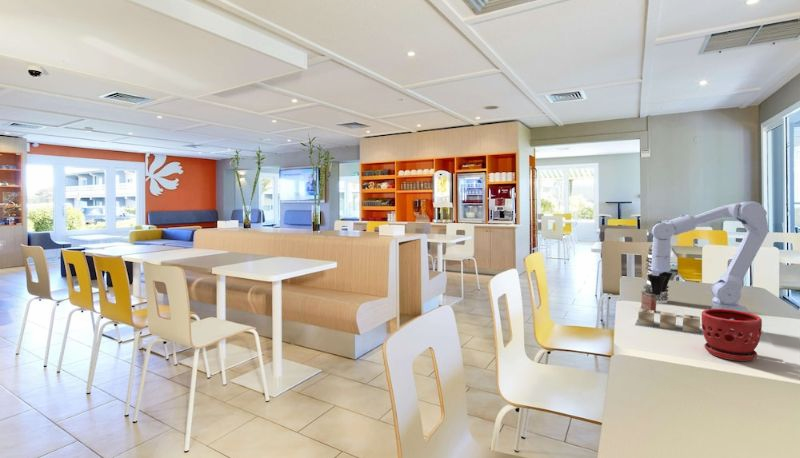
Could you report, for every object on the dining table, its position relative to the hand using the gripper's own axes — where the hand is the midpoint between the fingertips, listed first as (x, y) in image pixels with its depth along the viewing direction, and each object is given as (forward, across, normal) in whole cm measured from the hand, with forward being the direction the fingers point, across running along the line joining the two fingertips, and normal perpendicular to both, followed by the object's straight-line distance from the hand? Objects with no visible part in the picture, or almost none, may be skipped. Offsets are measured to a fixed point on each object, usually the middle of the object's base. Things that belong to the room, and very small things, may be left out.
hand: (659, 293), depth 150 cm
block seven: (+10, +9, -2) cm, 13 cm away
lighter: (+10, -14, -6) cm, 18 cm away
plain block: (+10, +8, +4) cm, 13 cm away
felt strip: (+10, +8, +4) cm, 14 cm away
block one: (+10, +7, +11) cm, 16 cm away
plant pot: (+10, +26, +23) cm, 37 cm away
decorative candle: (+10, -38, -9) cm, 40 cm away
